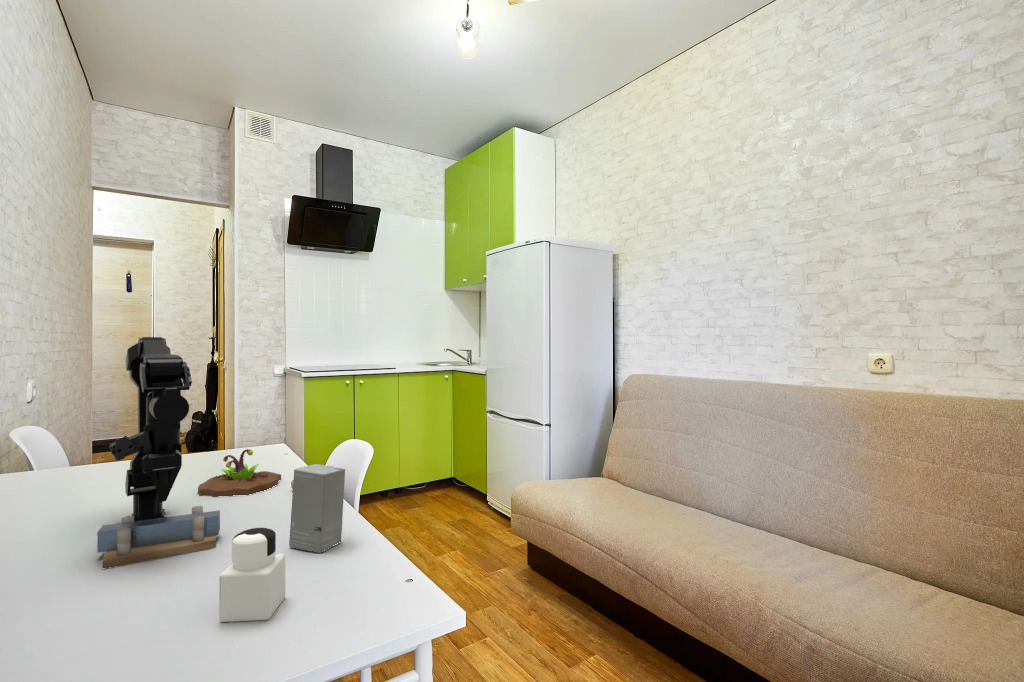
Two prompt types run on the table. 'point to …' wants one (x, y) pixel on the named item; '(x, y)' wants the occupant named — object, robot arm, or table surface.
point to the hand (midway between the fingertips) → (163, 495)
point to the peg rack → (157, 545)
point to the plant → (238, 480)
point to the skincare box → (317, 507)
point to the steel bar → (157, 530)
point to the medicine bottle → (252, 577)
